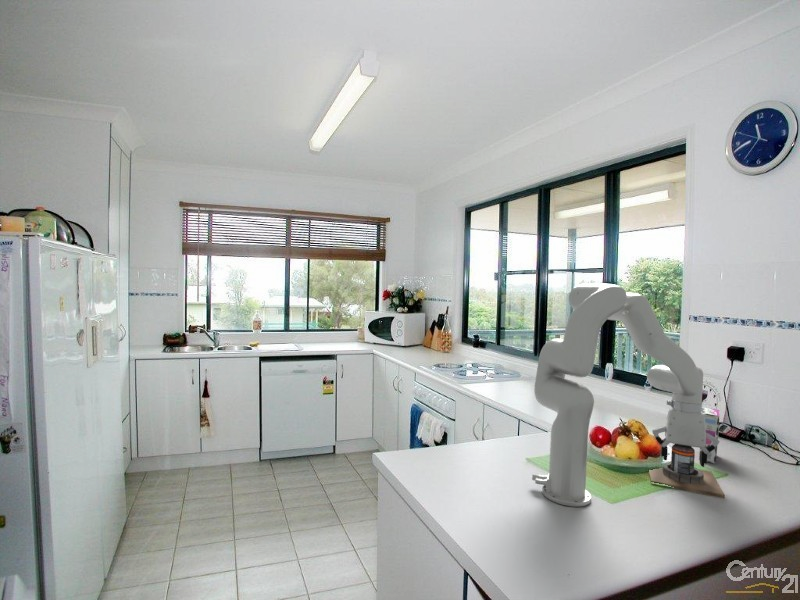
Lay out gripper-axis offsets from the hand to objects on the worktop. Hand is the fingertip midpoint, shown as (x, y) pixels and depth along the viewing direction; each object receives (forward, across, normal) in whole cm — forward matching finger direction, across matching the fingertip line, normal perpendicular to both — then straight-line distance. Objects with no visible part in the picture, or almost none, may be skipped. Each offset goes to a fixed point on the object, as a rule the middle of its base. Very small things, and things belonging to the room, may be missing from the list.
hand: (683, 462), depth 136 cm
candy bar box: (+6, +11, +26) cm, 29 cm away
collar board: (+5, 0, 0) cm, 5 cm away
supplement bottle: (+4, 0, 0) cm, 5 cm away
